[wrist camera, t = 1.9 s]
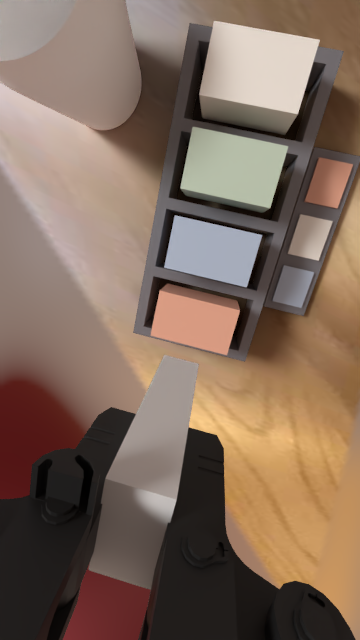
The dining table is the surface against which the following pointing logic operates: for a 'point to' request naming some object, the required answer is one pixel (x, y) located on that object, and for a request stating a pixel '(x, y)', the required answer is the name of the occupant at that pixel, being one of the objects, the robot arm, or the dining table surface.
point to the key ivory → (255, 77)
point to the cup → (72, 58)
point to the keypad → (274, 228)
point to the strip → (311, 229)
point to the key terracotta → (195, 318)
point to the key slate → (212, 251)
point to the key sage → (232, 169)
